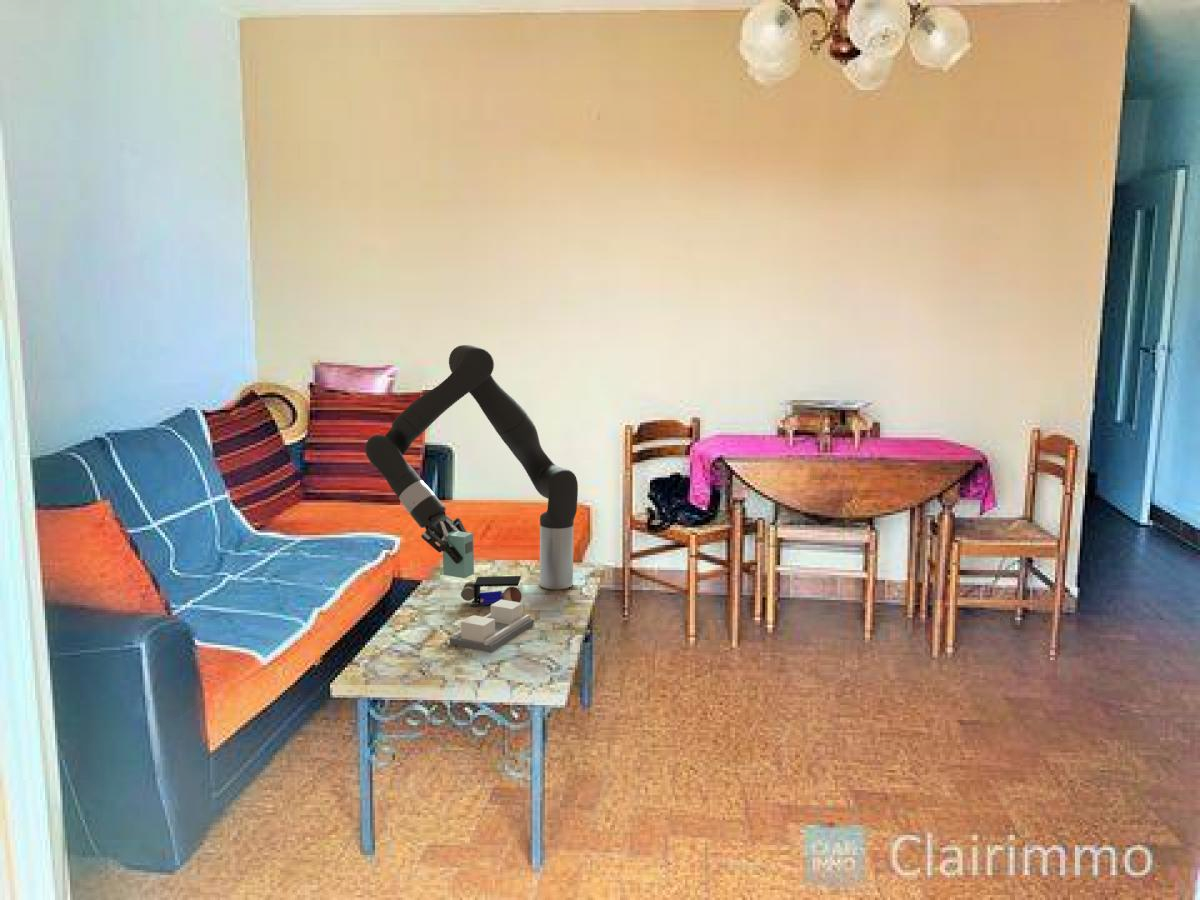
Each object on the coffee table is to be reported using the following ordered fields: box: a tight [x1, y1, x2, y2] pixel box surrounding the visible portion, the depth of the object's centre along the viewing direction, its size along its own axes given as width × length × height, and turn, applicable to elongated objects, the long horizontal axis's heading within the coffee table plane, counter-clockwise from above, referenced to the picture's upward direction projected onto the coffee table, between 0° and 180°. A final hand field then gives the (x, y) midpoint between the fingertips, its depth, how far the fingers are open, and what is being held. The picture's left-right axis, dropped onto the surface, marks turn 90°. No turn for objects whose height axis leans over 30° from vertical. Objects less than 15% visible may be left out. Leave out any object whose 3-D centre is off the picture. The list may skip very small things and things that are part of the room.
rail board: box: [449, 612, 534, 653], centre depth 225 cm, size 20×11×2 cm, turn 155°
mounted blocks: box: [460, 599, 524, 643], centre depth 225 cm, size 18×6×4 cm, turn 155°
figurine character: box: [460, 575, 523, 607], centre depth 246 cm, size 7×8×15 cm
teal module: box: [442, 531, 475, 579], centre depth 226 cm, size 4×6×10 cm, turn 65°
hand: (465, 558), depth 225 cm, fingers closed on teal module, 4 cm apart
